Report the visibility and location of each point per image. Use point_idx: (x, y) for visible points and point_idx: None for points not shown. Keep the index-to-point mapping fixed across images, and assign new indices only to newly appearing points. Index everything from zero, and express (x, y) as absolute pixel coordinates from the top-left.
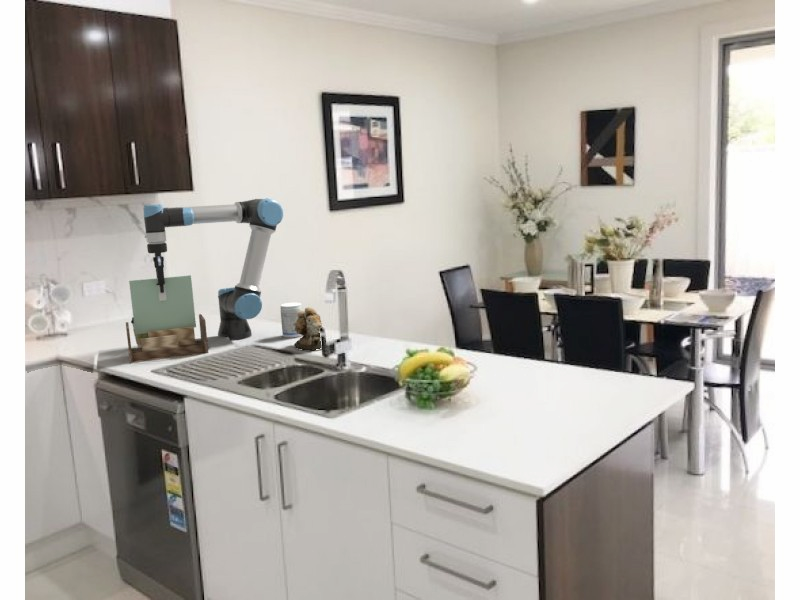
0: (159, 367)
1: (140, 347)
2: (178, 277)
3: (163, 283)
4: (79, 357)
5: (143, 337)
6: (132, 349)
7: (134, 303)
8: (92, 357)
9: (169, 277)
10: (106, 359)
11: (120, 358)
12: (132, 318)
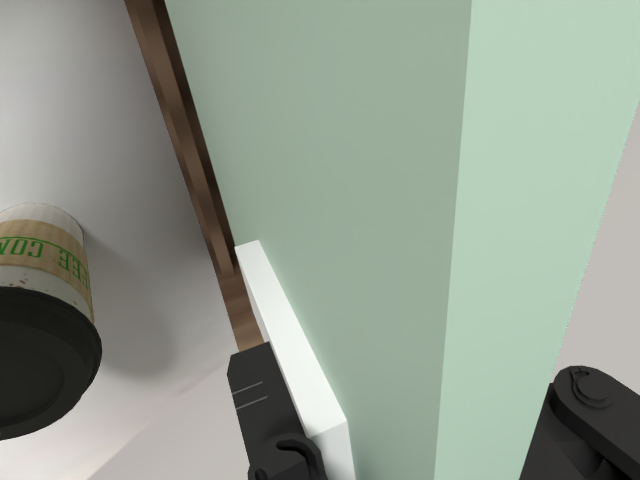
0: None
1: (216, 243)
2: (568, 174)
3: (570, 381)
4: (121, 439)
5: (88, 278)
6: (232, 268)
7: None
8: (134, 401)
9: (510, 471)
10: (186, 342)
11: (185, 300)
12: (50, 424)
